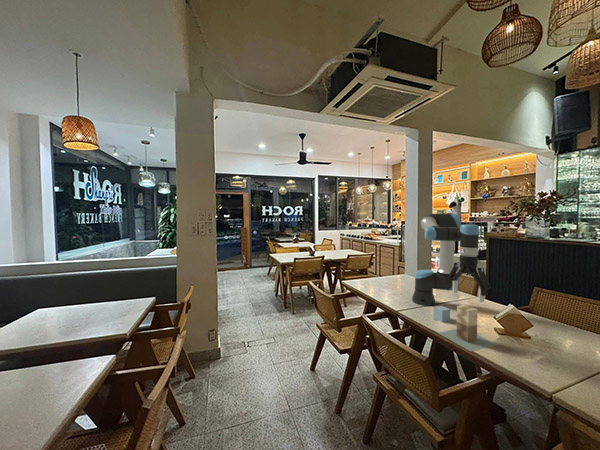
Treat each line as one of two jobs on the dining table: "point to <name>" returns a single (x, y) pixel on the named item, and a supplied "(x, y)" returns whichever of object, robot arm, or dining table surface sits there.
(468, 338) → the walnut block
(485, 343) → the build plate
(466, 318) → the beech block
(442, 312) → the blue block
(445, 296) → the dining table surface
